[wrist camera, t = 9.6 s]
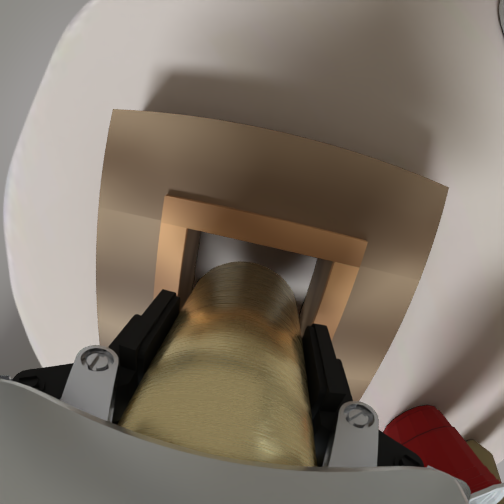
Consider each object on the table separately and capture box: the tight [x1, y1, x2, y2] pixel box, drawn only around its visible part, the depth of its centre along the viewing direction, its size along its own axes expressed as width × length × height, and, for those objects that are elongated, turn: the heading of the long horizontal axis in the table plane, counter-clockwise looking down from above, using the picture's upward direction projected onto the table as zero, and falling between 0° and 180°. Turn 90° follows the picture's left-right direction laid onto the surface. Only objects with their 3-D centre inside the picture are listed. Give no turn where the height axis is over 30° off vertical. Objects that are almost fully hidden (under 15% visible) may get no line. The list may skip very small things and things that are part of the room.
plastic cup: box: [383, 405, 504, 504], centre depth 14 cm, size 11×11×12 cm
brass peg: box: [117, 262, 317, 467], centre depth 9 cm, size 5×5×10 cm
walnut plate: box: [96, 109, 449, 401], centre depth 15 cm, size 16×16×3 cm
